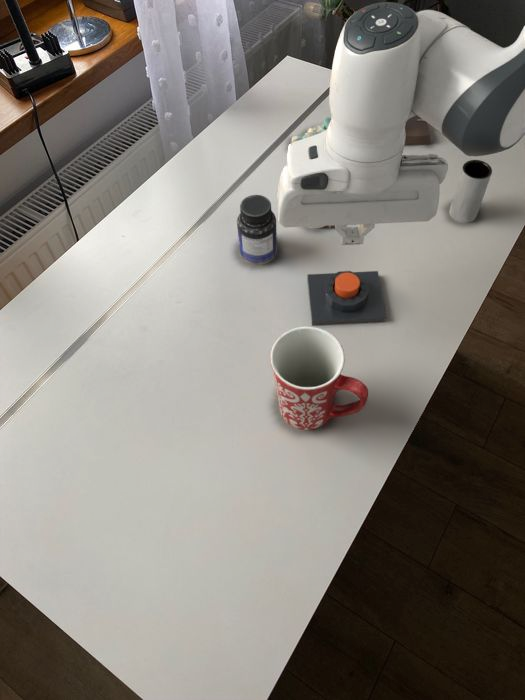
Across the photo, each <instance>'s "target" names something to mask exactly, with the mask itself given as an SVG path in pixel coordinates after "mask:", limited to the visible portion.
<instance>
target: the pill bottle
mask: <svg viewBox="0 0 525 700" xmlns="http://www.w3.org/2000/svg"><path fill="white" fill-rule="evenodd" d="M239 210H240V211H239V212H240V213H238V216H237V219H236V227H237V235H238V236H237V238H238V248H239V255H240V258H241V259H242V260H243V261H244V262H246V263H247V264H250V265H253V266H261V265H266V264H268V263H270V262H271V261H273V260H274V259H275V257H276V256H277V253H278V241H277V240H278V239H277V238H278V237H277V236H278V235H277V232H278V231H277V216H276V215H275V213H274V211H272V203H271V201H270V199H269V198H267V197H266V196H264V195H261V194H251V195H248V196H246V197H244V198H243V199H242V200H241V202H240V203H239Z"/></svg>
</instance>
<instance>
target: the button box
mask: <svg viewBox="0 0 525 700" xmlns="http://www.w3.org/2000/svg"><path fill="white" fill-rule="evenodd" d="M342 273H352V274H354V275H356V276H357V277H358V278H359V280H360V286H359V291H358V294H357V295H356V296H355V297H353V298H349V299H346V298H342V297H340V296H338V295H337V294H336V292H335V280H336V278H337V276H339V275H340V274H342ZM306 282H307V290H308V301H309V312H310V322H311V327H315V326H332V325H351V324H352V325H353V324H374V323H375V324H376V323H386V320H387V313H386V307H385V303H384V301H385V300H384V297H383V296H384V295H383V291H382V285H381V280H380V274H379V270H372V271H371V270H369V271H351V270H343V271H342V270H341V271H337V272H331V273H330V272H329V273H328V272H327V273H309V274H307V275H306Z"/></svg>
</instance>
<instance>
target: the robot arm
mask: <svg viewBox="0 0 525 700" xmlns="http://www.w3.org/2000/svg"><path fill="white" fill-rule="evenodd" d="M328 105H329V111H330V116H331V117H330V118H331V121H330V123H329V126H328V129H327V130H326V131H324V132H321V133H319V134H316V135H313V136H310V137H307V138H304V139H301V140H298V141H295V142H293V143H292V142H291V143H290V144H289V145H288V147H287V155H286V165H285V166H283V169H282V170H281V173H280V177H279V180H278V185H277V193H276V219H277V223H278V224H280V225H281V226H282V227H283V228H285V229H286V228H287V229H288V228H306V227H307V228H310V226H324V227H327V226H333V225H335V226H334V229H335V231H336V232H337V233H338V234H339V236H340V238H339V239H340V245H341V246H348V245H349V246H353V245H364V242H365V241H364V240H365V237H366V236H367V235H368V234H369V233H370V232H372V231H373V229H375V227H376V226H375V225H376V224H377V225H379V224H399V223H421V222H422V223H423V222H429V221H430V220H432V219H433V218H435V217H436V215H437V213H438V208H439V202H440V193H441V191H440V190H441V186H440V185H441V184H442V183H443V182H444V181H445V179H446V177H447V173H448V169H449V163H448V161H447V160H446V159H445V158H443V157H440V156H439V155H438V154H436V153H428V154H423V155H421V154H406V155H405V154H404V149H405V146H404V144H405V137H406V133H405V123H406V121H407V120H408V119H409V118H411V117H414V116H416V115H417V116H419V117H420V118H422V119H423V120H424V121H426V122H427V124H428V125H430V126H432V127H433V128H434V129H436V130H437V131H439V132H440V133H442V135H443V136H444V137H445V138H446V139H447V140H448V141H449V142H450V143H451V144H453V145H454V146H455V147H456V148H457V149H458V150H459V151H461V153H463V154H464V155H465V156H467V157H482V156H489V155H493V154H497V153H501V152H504V151H507V150H509V149H511V148H513V147H514V146H516V145H517V144H518V143H519V142H520V141H521V139H522V138H523V137H524V136H525V25H524V26H523V28H522V30H521V32H520V33H519V35H518V37H517V39H516V40H515V41H514V42H513V43H512V44H510V45H509V46H506V47H502V46H500V45H498V44H496V43H494V42H493V41H491V40H490V39H487V38H486V37H484V36H482V35H480V34H479V33H477V32H475V31H474V30H471V28H470V27H469V26H467V25H465V24H464V23H461V22H460V21H458V20H456V19H455V18H452V17H451V16H449V15H447V14H445V13H443V12H441V11H437V10H435V9H431V8H424V9H421V10H418V11H414V10H413V9H412V8H410V7H409V6H407V5H405V4H402V3H399V2H392V1H382V2H376V3H372V4H370V5H365V6H364V7H362V8H359V9H358V10H356V11H355V12H353V14H351V15H350V17H348V19H347V20H346V22H345V23H344V25H343V27H342V29H341V31H340V34H339V37H338V40H337V43H336V47H335V50H334V56H333V60H332V65H331V73H330V81H329V93H328ZM352 225H353V227H352ZM355 225H358V226H355ZM349 226H351V227H349Z"/></svg>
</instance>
